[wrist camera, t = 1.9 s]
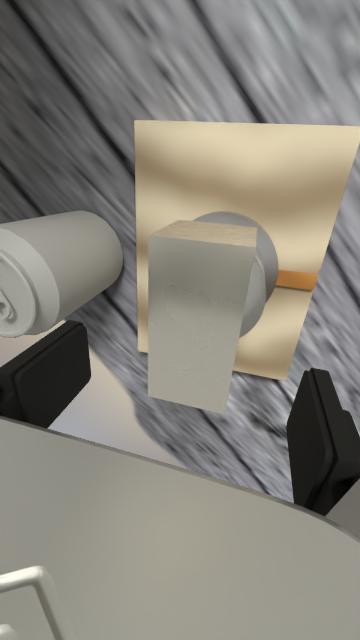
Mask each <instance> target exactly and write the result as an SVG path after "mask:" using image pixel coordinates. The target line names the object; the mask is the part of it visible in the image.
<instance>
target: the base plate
mask: <svg viewBox="0 0 360 640" xmlns="http://www.w3.org/2000/svg"><path fill="white" fill-rule="evenodd" d="M134 130H135V190H136V250H137V311H138V351H141V352H146V353H148V235H150V234H151V233H153V232H155V231H157V230H159V229H161V228H163V227H165V226H167V225H169V224H171V223H173V222H175V221H177V220H188V221H198V222H208V223H218V224H228V225H238V226H248V227H257V239H256V246H257V248H258V249H259V251H260V253H261V255H262V258H263V261H264V267H265V285H266V301H265V307H264V310H263V313H262V315H261V318H260V319H259V321H258V322H257V324H256V325H255V326H254V327H253V329H252V330H251V331H249V332H248V333H247V334H246V335H244V336H243V337H241V338H239V340H238V345H237V351H236V356H235V361H234V366H233V370H234V371H239V372H244V373H249V374H254V375H258V376H263V377H268V378H273V379H278V380H283V381H286V377H287V374H288V371H289V368H290V365H291V361H292V358H293V355H294V352H295V349H296V345H297V342H298V339H299V336H300V332H301V329H302V326H303V323H304V320H305V316H306V313H307V310H308V307H309V303H310V300H311V297H312V294H313V291H314V287H315V284H316V281H317V278H318V275H319V271H320V268H321V265H322V262H323V258H324V255H325V252H326V249H327V246H328V242H329V239H330V236H331V233H332V229H333V226H334V223H335V220H336V217H337V213H338V210H339V207H340V204H341V201H342V197H343V194H344V191H345V188H346V184H347V181H348V178H349V175H350V172H351V168H352V165H353V162H354V159H355V155H356V152H357V149H358V146H359V143H360V126H329V125H294V124H258V123H223V122H188V121H152V120H134Z"/></svg>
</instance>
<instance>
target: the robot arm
mask: <svg viewBox="0 0 360 640" xmlns="http://www.w3.org/2000/svg"><path fill="white" fill-rule="evenodd" d="M90 378H91V369H90V358H89V349H88V339H87V330H86V327H85V326H84V325H83V323H81V322H76V321H71V320H69V321H67V322H65V323H64V324H62V325H61V326H60V327H58V328H57V329H55V330H54V331H52V332H51V333H49V334H48V335H47V336H45V337H44V338H42V339H41V340H39V341H38V342H36V343H35V344H34V345H32V346H31V347H29V348H28V349H26V350H25V351H24V352H22V353H21V354H19V355H18V356H16V357H15V358H13V359H12V360H11V361H9V362H8V363H6V364H5V365H3V366H2V367H0V640H360V437H359V434H358V431H357V429H356V426H355V424H354V421H353V419H352V416H351V414H350V412H348V411H346V410H342V407H341V404H340V402H339V399H338V396H337V393H336V391H335V388H334V385H333V382H332V380H331V377H330V374H329V372H328V371H326V370H321V369H315V368H311V369H310V371H306V370H305V371H304V374H303V376H302V379H301V382H300V385H299V388H298V391H297V394H296V397H295V400H294V403H293V406H292V409H291V412H290V415H289V418H288V421H287V439H288V449H289V459H290V469H291V478H292V488H293V498H294V503H291V502H288V501H285V500H283V499H280V498H277V497H274V496H271V495H268V494H265V493H262V492H258V491H255V490H252V489H249V488H246V487H243V486H240V485H236V484H233V483H230V482H227V481H224V480H220V479H217V478H214V477H210V476H207V475H204V474H200V473H197V472H193V471H190V470H187V469H183V468H180V467H177V466H173V465H170V464H167V463H163V462H160V461H156V460H153V459H150V458H146V457H143V456H140V455H136V454H133V453H130V452H126V451H123V450H119V449H116V448H112V447H109V446H105V445H102V444H99V443H95V442H92V441H88V440H85V439H81V438H78V437H75V436H71V435H68V434H64V433H61V432H57V431H54V430H50V429H47V428H48V427H49V426H50V425H51V424H52V423H53V421H54V420H55V419H56V418H57V417H58V416H59V415H60V414H61V412H62V411H63V410H64V409H65V408H66V407H67V406H68V405H69V403H70V402H71V401H72V400H73V399H74V398H75V397H76V396H77V394H78V393H79V392H80V391H81V390H82V389H83V388H84V386H85V385H86V384H87V383H88V382H89V380H90Z"/></svg>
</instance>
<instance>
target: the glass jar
mask: <svg viewBox="0 0 360 640" xmlns="http://www.w3.org/2000/svg"><path fill="white" fill-rule="evenodd" d="M256 239H257V227H248V226H238V225H228V224H218V223H208V222H198V221H188V220H177V221H175V222H173V223H171V224H169V225H167V226H165V227H163V228H161V229H159V230H157V231H155V232H153V233H151V234H150V235H148V396H149V397H153V398H157V399H162V400H166V401H170V402H174V403H179V404H183V405H187V406H191V407H195V408H200V409H204V410H208V411H212V412H216V413H221V414H225V409H226V404H227V398H228V393H229V388H230V382H231V377H232V372H233V366H234V361H235V356H236V351H237V345H238V340H239V338H241V337H243V336H244V335H246V334H247V333H248V332H249V331H251V330H252V329H253V327H254V326H255V325H256V324H257V322H258V321H259V319H260V318H261V315H262V313H263V310H264V307H265V301H266V285H265V267H264V261H263V258H262V255H261V253H260V251H259V249H258V248H257V246H256Z"/></svg>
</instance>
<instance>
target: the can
mask: <svg viewBox="0 0 360 640" xmlns="http://www.w3.org/2000/svg"><path fill="white" fill-rule="evenodd" d="M122 266H123V252H122V247H121V243H120V241H119V239H118V237H117V235H116V233H115V231H114V230H113V229H112V228H111V227H110V225H109V224H108V223H107V222H106V221H105V220H103V219H102V218H100V217H99V216H97V215H96V214H94V213H91V212H87V211H83V210H80V211H71V212H65V213H60V214H54V215H48V216H42V217H37V218H31V219H25V220H20V221H14V222H8V223H2V224H0V336H2V337H15V338H16V337H18V336H21V335H37V334H40V333H42V332H45V331H47V330H49V329H50V328H52V327H53V326H55V325H56V324H57V323H59V322H60V321H62V320H63V319H64V318H66V317H67V316H69V315H70V314H71V313H73V312H74V311H75V310H77V309H78V308H80V307H81V306H82V305H84V304H85V303H87V302H88V301H89V300H91V299H92V298H94V297H95V296H96V295H98V294H99V293H101V292H102V291H103V290H105V289H106V288H108V287H109V286H110V285H112V284H113V283H114V282H115V281H116V280H117V279H118V277H119V275H120V272H121V270H122Z"/></svg>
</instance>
